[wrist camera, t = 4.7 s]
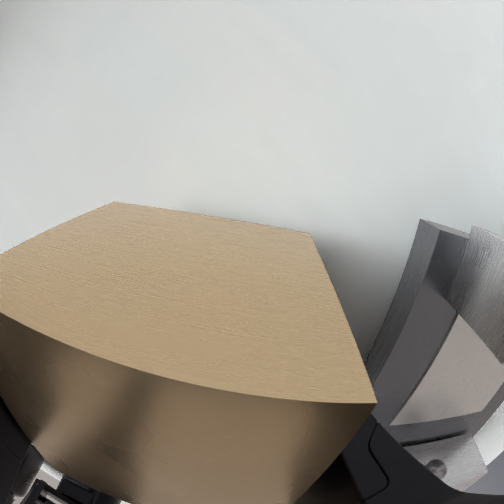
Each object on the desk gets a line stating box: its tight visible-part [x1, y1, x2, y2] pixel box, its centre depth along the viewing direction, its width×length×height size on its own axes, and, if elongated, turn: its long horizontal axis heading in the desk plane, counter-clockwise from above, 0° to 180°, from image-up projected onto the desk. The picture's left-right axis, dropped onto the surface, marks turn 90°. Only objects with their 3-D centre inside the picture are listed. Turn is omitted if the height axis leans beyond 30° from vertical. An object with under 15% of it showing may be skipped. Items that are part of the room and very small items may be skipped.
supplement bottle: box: [6, 445, 44, 504], centre depth 17 cm, size 7×7×12 cm
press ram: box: [404, 433, 488, 492], centre depth 12 cm, size 12×10×4 cm
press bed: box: [364, 219, 504, 447], centre depth 11 cm, size 25×13×6 cm, turn 171°
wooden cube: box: [0, 202, 377, 504], centre depth 6 cm, size 6×6×6 cm
